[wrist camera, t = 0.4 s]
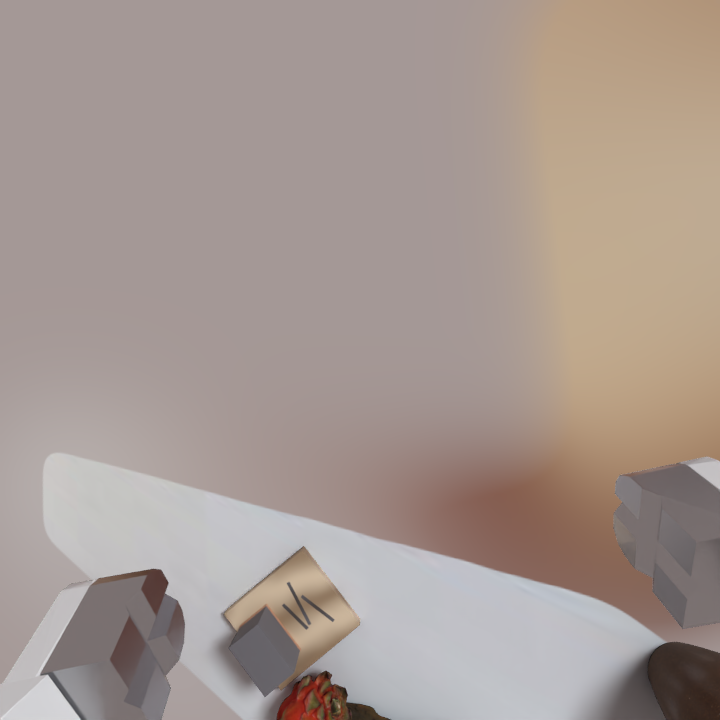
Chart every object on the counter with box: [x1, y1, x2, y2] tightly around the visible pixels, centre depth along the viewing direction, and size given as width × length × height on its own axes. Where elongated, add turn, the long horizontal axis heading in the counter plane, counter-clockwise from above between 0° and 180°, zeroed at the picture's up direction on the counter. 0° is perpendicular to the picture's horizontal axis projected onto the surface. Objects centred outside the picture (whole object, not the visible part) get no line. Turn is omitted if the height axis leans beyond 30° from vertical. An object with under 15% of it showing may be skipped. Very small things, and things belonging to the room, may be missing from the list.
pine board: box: [224, 546, 360, 690], centre depth 58 cm, size 12×13×2 cm
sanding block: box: [229, 604, 301, 697], centre depth 55 cm, size 7×4×5 cm, turn 39°
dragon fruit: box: [277, 671, 352, 720], centre depth 54 cm, size 8×8×12 cm
